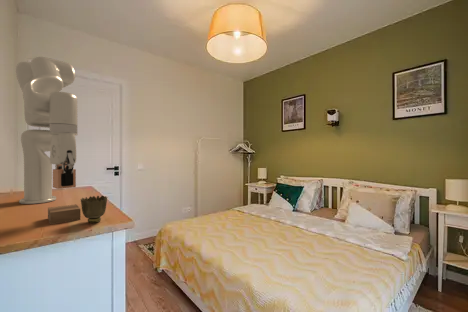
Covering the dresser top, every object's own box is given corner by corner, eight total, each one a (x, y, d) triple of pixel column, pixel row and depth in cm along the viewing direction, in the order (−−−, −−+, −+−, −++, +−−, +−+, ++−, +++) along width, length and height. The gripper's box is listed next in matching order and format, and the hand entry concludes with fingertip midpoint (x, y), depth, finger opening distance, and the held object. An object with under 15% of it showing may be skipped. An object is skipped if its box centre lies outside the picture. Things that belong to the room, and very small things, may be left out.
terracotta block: (52, 187, 78) (52, 169, 78) (70, 185, 82) (70, 168, 82) (57, 188, 75) (57, 170, 75) (75, 187, 79) (75, 169, 79)
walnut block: (47, 219, 79) (47, 207, 79) (76, 215, 85) (76, 204, 85) (50, 225, 73) (50, 212, 73) (80, 220, 79) (80, 208, 79)
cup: (79, 221, 77) (79, 196, 77) (105, 217, 81) (105, 194, 81) (81, 227, 71) (81, 201, 71) (109, 223, 76) (109, 198, 75)
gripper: (42, 130, 80) (42, 183, 81) (59, 128, 70) (59, 188, 70) (67, 132, 86) (68, 181, 87) (86, 130, 76) (87, 186, 76)
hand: (64, 184), depth 79 cm, fingers closed on terracotta block, 5 cm apart
